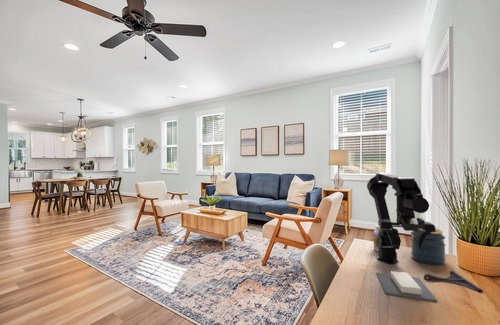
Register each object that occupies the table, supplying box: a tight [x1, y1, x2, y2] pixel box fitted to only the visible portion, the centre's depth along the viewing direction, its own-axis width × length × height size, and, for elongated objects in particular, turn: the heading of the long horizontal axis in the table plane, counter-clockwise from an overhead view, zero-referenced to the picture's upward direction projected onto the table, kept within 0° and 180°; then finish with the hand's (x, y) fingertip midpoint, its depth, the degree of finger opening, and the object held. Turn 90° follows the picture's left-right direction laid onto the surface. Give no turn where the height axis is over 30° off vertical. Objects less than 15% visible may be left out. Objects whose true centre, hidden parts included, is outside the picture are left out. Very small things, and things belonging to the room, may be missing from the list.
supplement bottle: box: [373, 224, 380, 252], centre depth 122 cm, size 7×7×13 cm
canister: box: [410, 226, 447, 266], centre depth 109 cm, size 13×13×18 cm
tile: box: [389, 270, 422, 295], centre depth 85 cm, size 2×6×12 cm
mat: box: [375, 272, 438, 303], centre depth 86 cm, size 16×15×1 cm
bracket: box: [423, 270, 484, 293], centre depth 90 cm, size 14×15×3 cm
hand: (405, 246), depth 93 cm, fingers open, 9 cm apart
